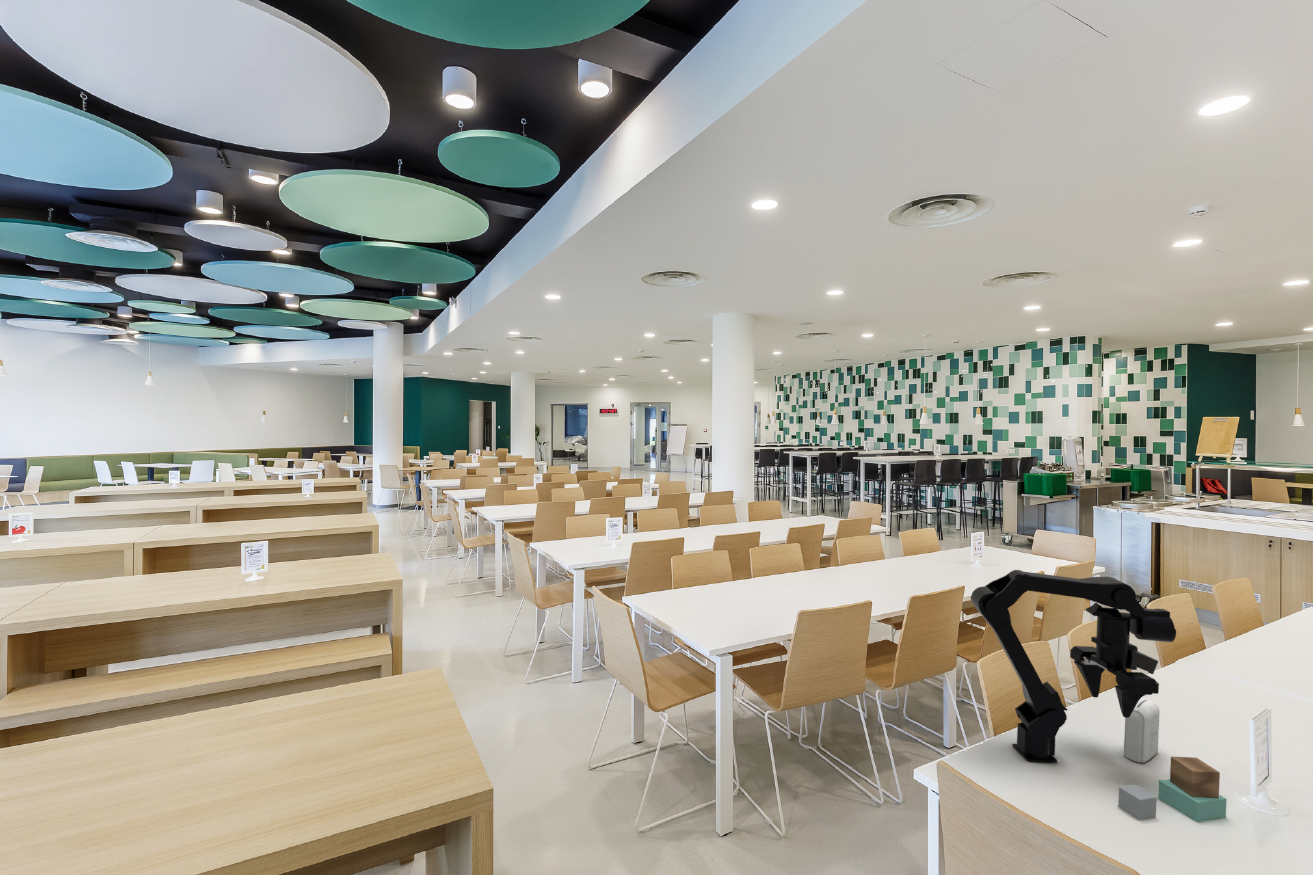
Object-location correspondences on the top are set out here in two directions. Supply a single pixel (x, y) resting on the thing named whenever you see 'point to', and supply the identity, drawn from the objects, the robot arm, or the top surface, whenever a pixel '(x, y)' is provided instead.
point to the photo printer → (1142, 731)
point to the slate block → (1137, 802)
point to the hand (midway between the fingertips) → (1110, 706)
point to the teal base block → (1192, 803)
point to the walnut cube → (1194, 777)
